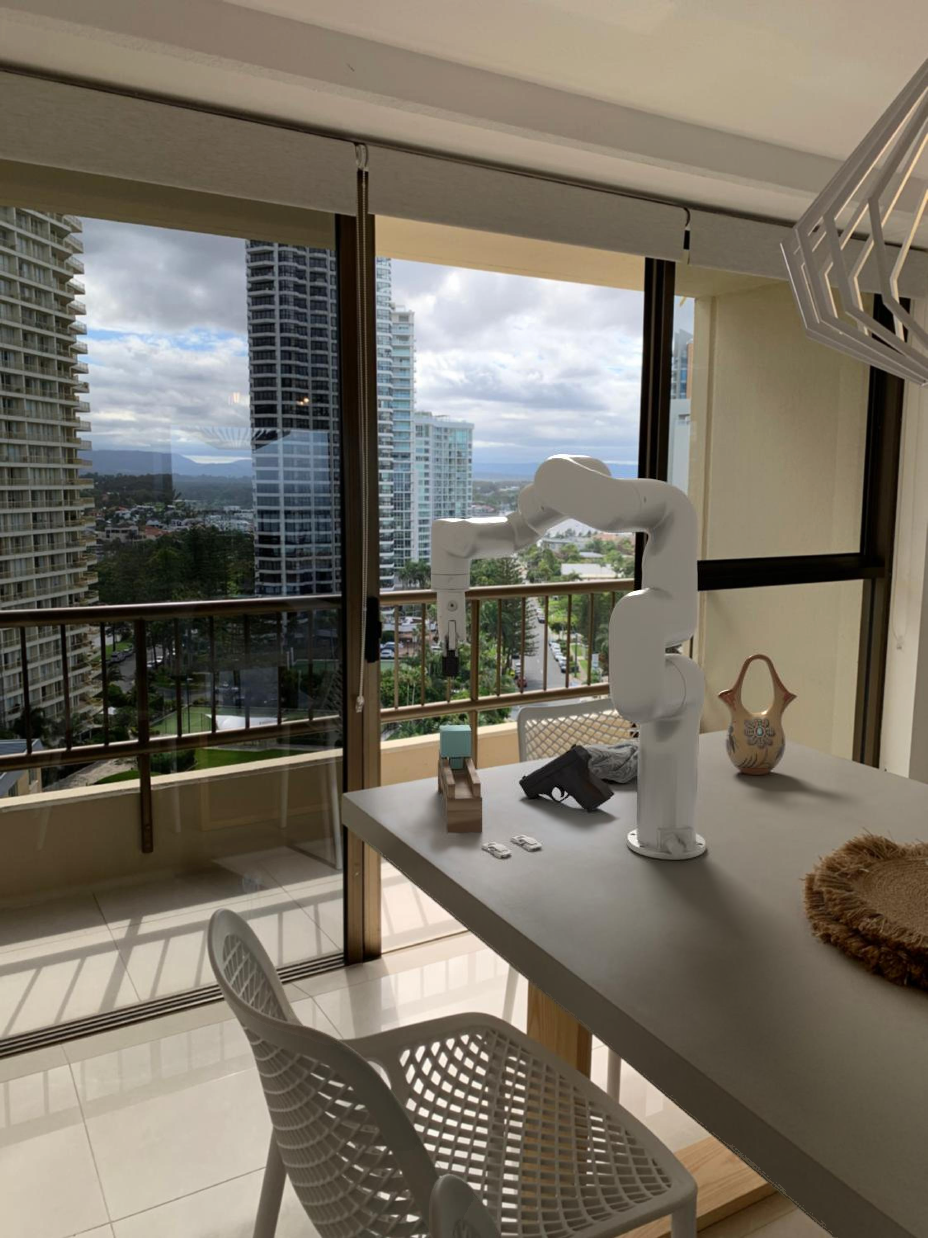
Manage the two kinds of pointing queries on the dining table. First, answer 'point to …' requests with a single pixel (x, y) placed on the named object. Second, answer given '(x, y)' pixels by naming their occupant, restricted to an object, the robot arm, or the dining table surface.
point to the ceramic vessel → (756, 725)
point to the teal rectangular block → (455, 744)
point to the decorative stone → (614, 760)
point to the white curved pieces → (503, 851)
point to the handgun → (568, 780)
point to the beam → (460, 796)
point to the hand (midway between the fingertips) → (450, 675)
